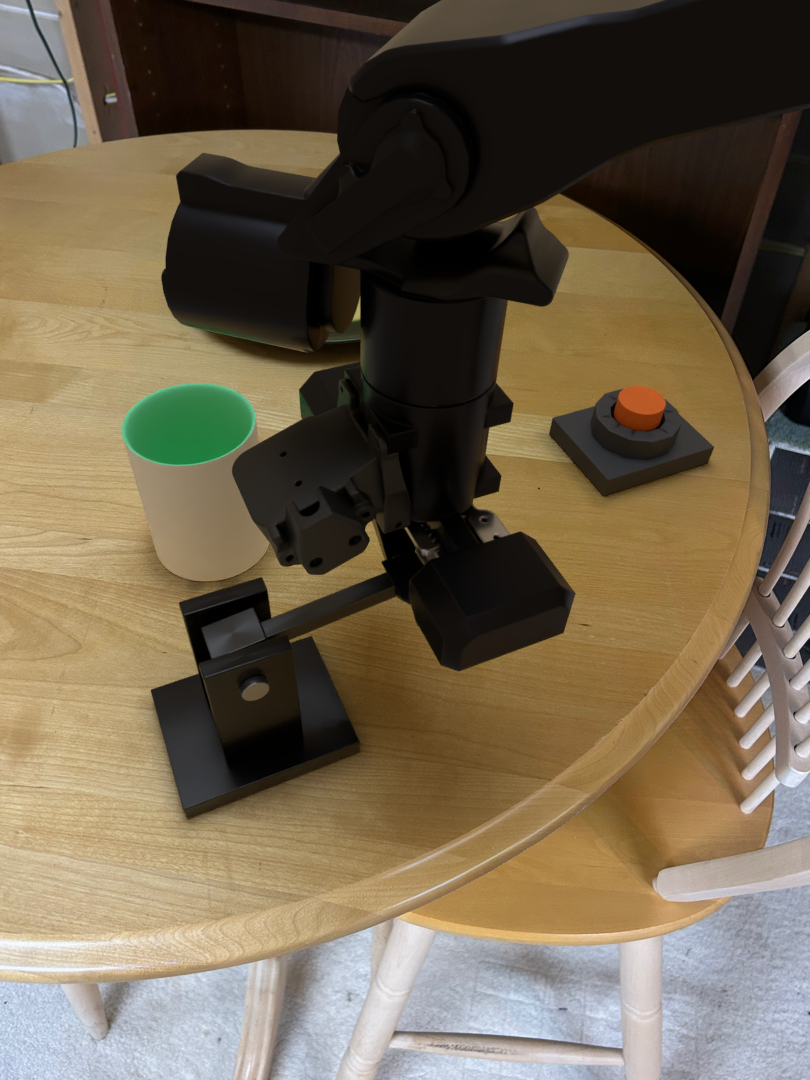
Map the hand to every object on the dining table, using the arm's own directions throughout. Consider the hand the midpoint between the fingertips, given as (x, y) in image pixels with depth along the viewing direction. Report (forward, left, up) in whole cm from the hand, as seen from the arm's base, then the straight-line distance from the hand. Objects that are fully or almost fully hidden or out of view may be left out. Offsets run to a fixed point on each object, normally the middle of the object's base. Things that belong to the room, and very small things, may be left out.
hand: (412, 600), depth 45 cm
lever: (0, +5, 0) cm, 5 cm away
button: (+12, -25, -4) cm, 28 cm away
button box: (+12, -25, -7) cm, 29 cm away
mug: (+17, +8, -7) cm, 20 cm away
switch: (0, +10, -7) cm, 12 cm away
